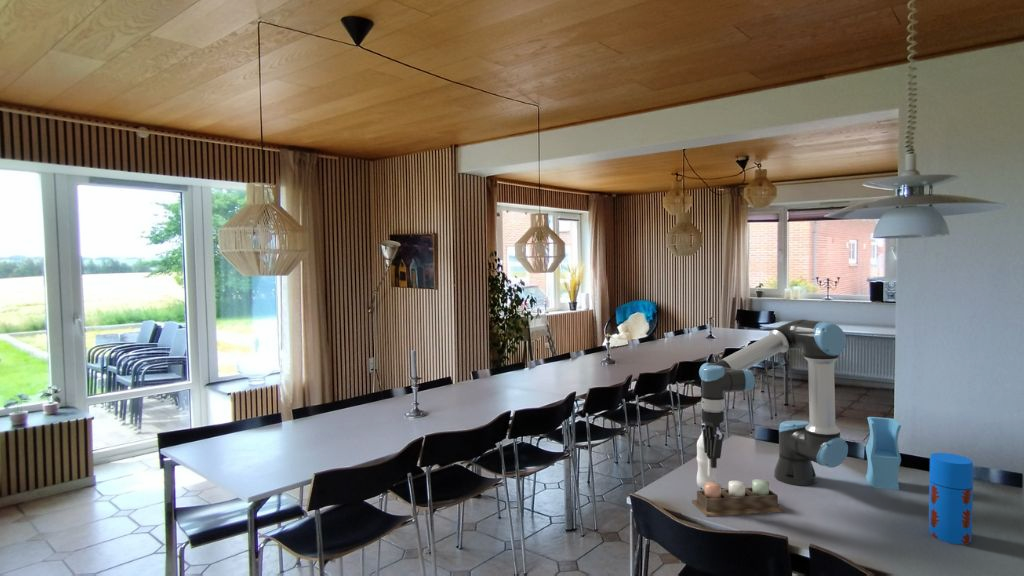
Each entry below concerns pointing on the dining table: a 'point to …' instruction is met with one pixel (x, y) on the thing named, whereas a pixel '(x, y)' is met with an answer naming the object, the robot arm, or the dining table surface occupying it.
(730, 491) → the cream key
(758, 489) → the pale green rounded block
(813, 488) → the dining table surface
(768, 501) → the brown wooden holder
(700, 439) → the water bottle
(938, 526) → the thermos
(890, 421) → the vase
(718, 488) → the pink rounded block
